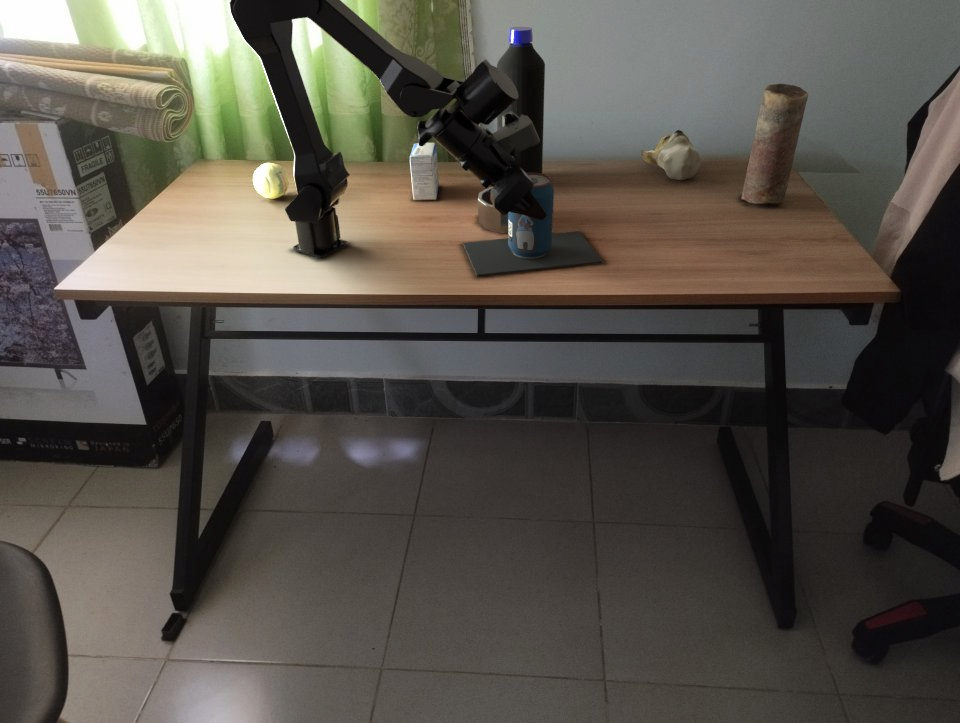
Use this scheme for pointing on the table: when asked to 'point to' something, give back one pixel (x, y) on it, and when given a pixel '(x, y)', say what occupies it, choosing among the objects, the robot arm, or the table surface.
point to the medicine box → (424, 171)
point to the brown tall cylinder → (774, 144)
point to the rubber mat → (501, 260)
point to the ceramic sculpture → (675, 156)
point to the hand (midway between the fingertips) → (539, 208)
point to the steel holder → (491, 214)
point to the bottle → (525, 91)
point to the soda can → (533, 223)
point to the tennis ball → (271, 180)
